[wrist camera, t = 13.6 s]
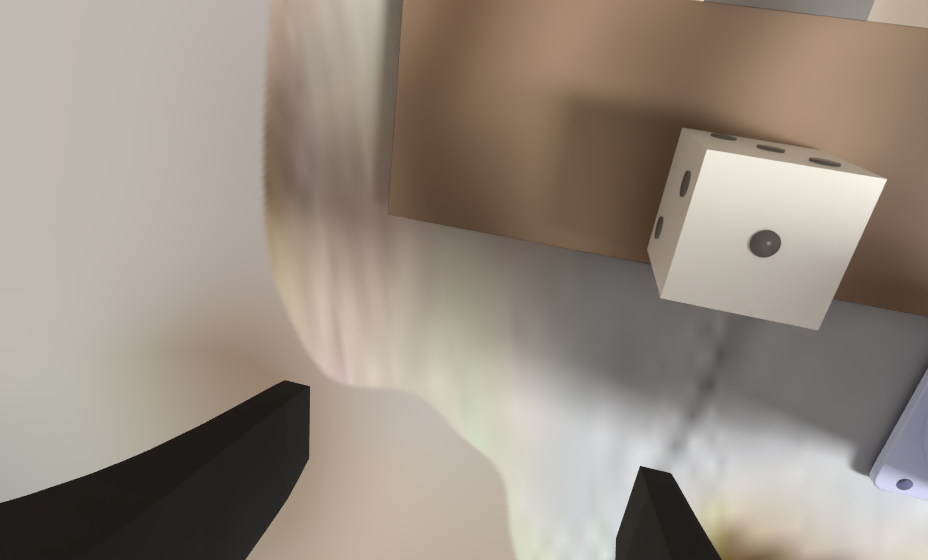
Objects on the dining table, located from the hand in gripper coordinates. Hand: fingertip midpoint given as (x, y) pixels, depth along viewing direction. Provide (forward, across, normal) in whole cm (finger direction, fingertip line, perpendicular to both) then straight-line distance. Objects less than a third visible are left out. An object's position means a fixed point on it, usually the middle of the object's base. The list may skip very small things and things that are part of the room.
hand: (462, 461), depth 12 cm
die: (+9, -6, -4) cm, 12 cm away
